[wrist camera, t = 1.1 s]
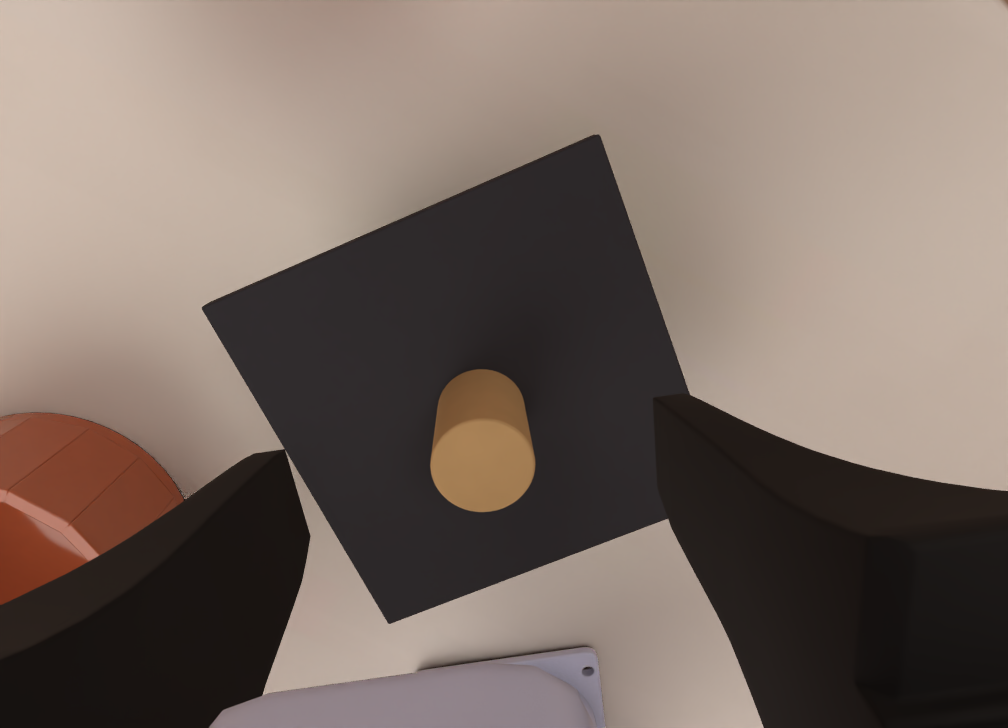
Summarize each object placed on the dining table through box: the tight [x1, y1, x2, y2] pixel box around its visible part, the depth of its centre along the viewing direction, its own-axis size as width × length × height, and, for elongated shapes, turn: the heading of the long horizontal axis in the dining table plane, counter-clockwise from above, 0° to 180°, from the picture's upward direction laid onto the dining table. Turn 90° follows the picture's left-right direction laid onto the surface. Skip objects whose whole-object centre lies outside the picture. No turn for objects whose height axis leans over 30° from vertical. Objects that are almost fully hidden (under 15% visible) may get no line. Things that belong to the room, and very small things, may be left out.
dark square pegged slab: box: [202, 135, 690, 624], centre depth 17 cm, size 11×11×4 cm
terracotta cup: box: [0, 413, 184, 605], centre depth 23 cm, size 10×10×5 cm
